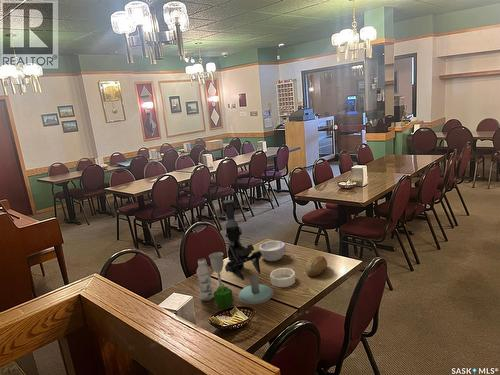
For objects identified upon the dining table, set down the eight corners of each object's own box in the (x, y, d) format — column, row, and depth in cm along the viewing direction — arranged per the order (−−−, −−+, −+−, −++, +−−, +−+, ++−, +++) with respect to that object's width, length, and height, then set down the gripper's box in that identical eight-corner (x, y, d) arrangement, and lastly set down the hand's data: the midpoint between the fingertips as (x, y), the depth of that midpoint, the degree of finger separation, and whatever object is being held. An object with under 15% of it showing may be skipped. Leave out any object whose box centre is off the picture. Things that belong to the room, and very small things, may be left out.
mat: (234, 305, 161) (234, 304, 161) (241, 286, 177) (241, 285, 177) (271, 304, 158) (271, 303, 158) (275, 285, 174) (275, 284, 174)
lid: (237, 302, 162) (234, 284, 160) (243, 286, 176) (241, 269, 174) (269, 302, 159) (267, 284, 157) (273, 285, 173) (271, 268, 171)
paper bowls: (258, 254, 213) (257, 242, 211) (283, 250, 214) (282, 238, 212) (262, 265, 198) (260, 252, 196) (288, 261, 199) (287, 248, 198)
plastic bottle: (201, 296, 172) (194, 258, 168) (214, 294, 172) (209, 256, 168) (200, 303, 166) (193, 264, 161) (214, 301, 166) (208, 262, 162)
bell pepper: (229, 312, 156) (226, 291, 154) (212, 309, 159) (209, 289, 157) (237, 301, 164) (234, 282, 161) (221, 299, 167) (218, 280, 165)
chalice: (216, 293, 173) (211, 259, 169) (211, 287, 179) (206, 255, 175) (230, 288, 176) (225, 255, 173) (224, 283, 182) (220, 250, 179)
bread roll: (332, 267, 186) (331, 253, 185) (319, 279, 175) (318, 265, 173) (315, 264, 192) (314, 250, 190) (302, 276, 181) (300, 261, 179)
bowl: (269, 288, 172) (269, 279, 171) (272, 276, 184) (271, 268, 183) (294, 287, 170) (293, 279, 169) (295, 275, 181) (294, 267, 180)
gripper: (224, 246, 163) (240, 276, 156) (257, 235, 172) (273, 262, 166) (218, 257, 171) (233, 286, 164) (251, 246, 181) (265, 272, 174)
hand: (252, 276), depth 167 cm, fingers open, 9 cm apart
